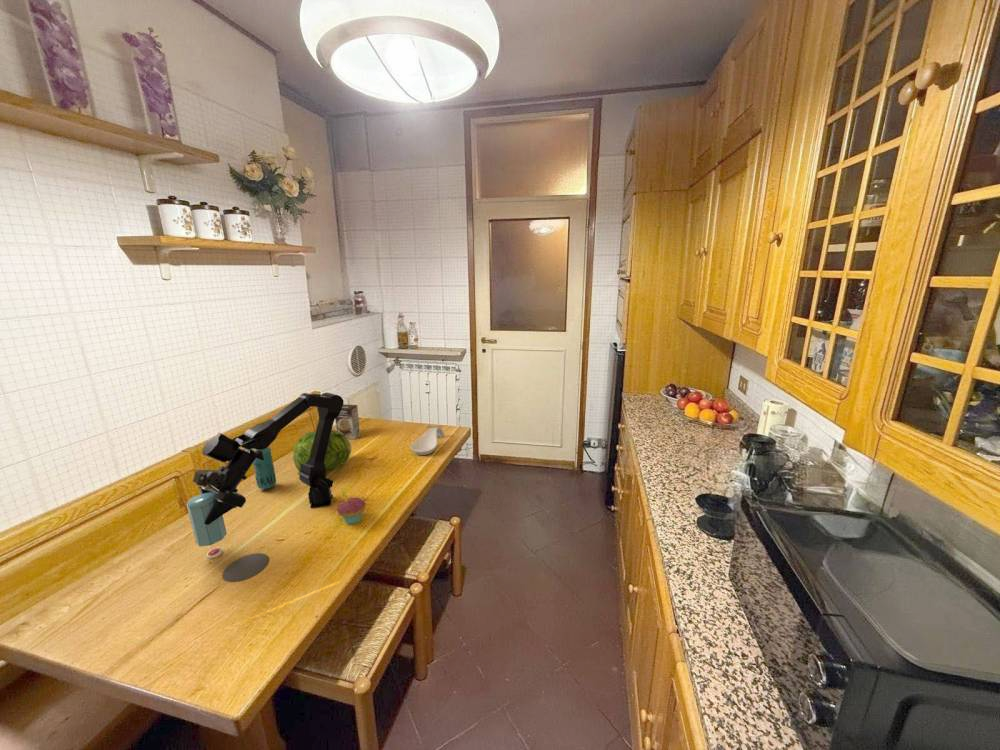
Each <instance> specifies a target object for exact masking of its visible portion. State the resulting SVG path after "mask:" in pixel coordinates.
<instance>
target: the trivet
mask: <svg viewBox="0 0 1000 750" xmlns="http://www.w3.org/2000/svg"><path fill="white" fill-rule="evenodd" d="M269 562H270V557H269V556H268V555H267V554H265V553H259V552H258V553H257V552H256V553H250V554H247V555H244V556H242V557H238V558H237V559H235V560H233V561H232V562H230V564H228V565H227V566H226V567H225V568H224V570H223V572H222V576H221V577H222V579H223V580H224V581H225V582H228V583H237V582H239V583H240V582H243V581H246V580H249V579H251V578H253V577H255V576H257V575H259V574H260V573H261V572H263V571H264V570H265V569H266V568H267V566H268V565H269V564H270V563H269Z"/></svg>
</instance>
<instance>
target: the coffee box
mask: <svg viewBox="0 0 1000 750" xmlns="http://www.w3.org/2000/svg"><path fill="white" fill-rule="evenodd" d="M358 409H359V408H358V404H344V403H343V407H342V409H341V412H340V414H339V415H338V416H337V417H336V419H335V425H336V426H335V427H336V431H338V432H339V433H341V434H343V435H344V436H345V437H346V438H347V439H348V440H350V439H355V440H356V439H358V438H359V437H360V436H361V428H360V420H359V419H360V418H359V410H358ZM359 435H360V436H359ZM358 436H359V437H358Z"/></svg>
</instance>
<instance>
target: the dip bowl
mask: <svg viewBox="0 0 1000 750" xmlns="http://www.w3.org/2000/svg"><path fill="white" fill-rule="evenodd" d="M222 553H223V549H222V547H219V546H217V547H214V548H212V549H210V550H209V551H208V552H207V553H206V558H207V559H215V558H218V556H220V555H221V554H222Z"/></svg>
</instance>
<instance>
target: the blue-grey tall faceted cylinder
mask: <svg viewBox="0 0 1000 750" xmlns="http://www.w3.org/2000/svg"><path fill="white" fill-rule="evenodd" d="M213 497H214V498H217V494H216V493H213V492H209V493H203V494H201V493H200V494H198V495H196V496H193V497H191V498H190V499H188V500H187V502H186V509H187V513H188V517H189V520H190V524H191V528H192V532H193V537H194V540H195V544H197V545H198V546H199V547H200V548H201V547H207V546H212V545H215V544H216V543H218V542H220V541H222V540H224V538H225V536H227V535H228V533H227V529H226V525H225V520H224V516H223V515H224V514H223V515H222V516H220V517H219V518H218V519H216V520H215V521H213V522H212V523H210V524H209V525H206V524H204V523H205V521H206V519H207V517H208V515H209V513H210V511H211V509H212V508H213V506H214V501H213Z"/></svg>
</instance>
